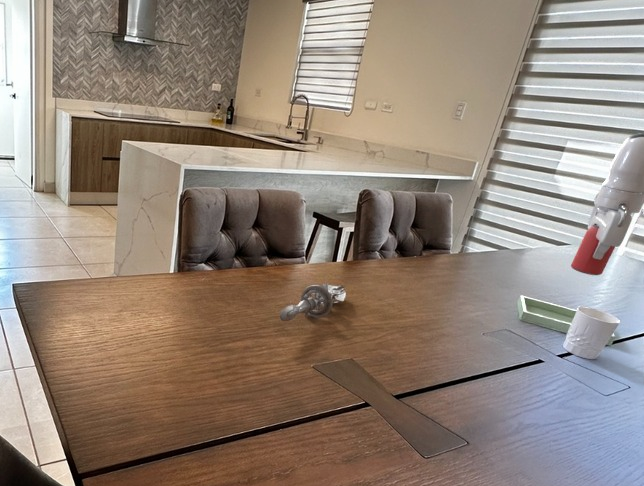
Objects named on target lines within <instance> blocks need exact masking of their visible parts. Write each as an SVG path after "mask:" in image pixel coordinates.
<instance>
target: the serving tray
mask: <svg viewBox="0 0 644 486" xmlns="http://www.w3.org/2000/svg"><path fill="white" fill-rule="evenodd" d="M516 305H517V311H518V319H519V321H522V322H524V323H529V324H531V325H535V326H539V327H543V328H545V329H550V330H553V331H557V332H560V333H564V334H567V333H568V330H569V327H570V325H571V323H572V320H573V318H574V315H575V313H576V311H577V309H573V308H569V307H566V306H562V305H559V304H556V303H551V302H547V301H544V300H541V299H540V300H539V299H536V298H532V297H528V296H524V295H521V294H520V295H519V298H518V300H517V302H516ZM615 339H616V335H615V334H614V333H613V334H612V336H611V338H610V339H609V340H608V342H607V344H606V345H605V346H608V347H611V346H612V344H613V343H614V342H615Z"/></svg>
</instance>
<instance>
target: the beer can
mask: <svg viewBox="0 0 644 486" xmlns="http://www.w3.org/2000/svg"><path fill="white" fill-rule="evenodd" d="M598 229H599V226H596V224H593V225H592V226H591V227H590V228H589V229H588V228H587V230H586V231H585V234H584V236H583V238H582V241H581V242H580V245H579V247H578V249H577V251H576V253H575V256H574V258H573V260H572V262H571V264H570V267H571V268H572V269H573V270H574V271H576V272H578V273H582V274H585V275H589V276H600V275H602V274H603V272H604V271H605V268H606V267H607V264H608V263H609V260H610V258H611V256H612V254H613V252H614V250H615V248H616V247H614V246H610V248H609V249H608V250H607V251H606V253H605V254H604V256H603V258H602V259H600V260H599V259H595V258H593V256H592V255H593V253H594V250H596V248H597V246H598V243H599V240H598V239H597V238H596V234H597V232H598Z"/></svg>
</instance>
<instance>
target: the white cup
mask: <svg viewBox="0 0 644 486" xmlns="http://www.w3.org/2000/svg"><path fill="white" fill-rule="evenodd" d="M576 310H577V311H576V313H575V315H574V318H573V320H572V323H571V325H570V327H569V330H568V333H566V337H565V340H564V342H563V344H562V347H563V349H564V350H566V351H567V352H569V353H570V354H572V355H574V356H577V357H580V358H583V359H586V360H587V359H588V360H596V359H598V357H599V356H600V354H601V352H602V350H603V349H605V347H606V346H607V345H606V344H607V342H608V340H609V339H610V338H611V336H612V334H614V333H615V331H616V329H617V328H618V326H619V325H620V323H621V320H620V319H619V318H618V317H616V316H615V315H613V314H611V313H608V312H606V311H603V310H600V309H597V308H593V307H588V306H578V307H577V308H576Z"/></svg>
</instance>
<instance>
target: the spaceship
mask: <svg viewBox="0 0 644 486" xmlns="http://www.w3.org/2000/svg"><path fill="white" fill-rule="evenodd" d="M345 289H346V286H345V285H344V284H341V285H338V286H337V285H329V283H328V282H325V283H322V284H321V285H319V284H312V285H308V286H307V287H306V288H305V289H304V290H303V291H302V293H301V295H300V302H299V303H297V305H295V304H290V305H288V306H286V307H284V308H283V309H282V310H281V311H280V314H279V318H280V320H281V321H282V322H289V321H291V320H293V319H295V318H296V317H297V316H298V314H304V316H305V317H309V316H310V317H311V318H316V319H322V318H324V317H327V316H328V315H329V314H330V313H331V311H332V308H333V304H335V303H339V302H344V301H345V299H346V296H347V295H346V294H347V292H346V290H345ZM313 295H314V296H313ZM333 300H336V301H333ZM319 308H321V309H319ZM315 309H316V310H315Z"/></svg>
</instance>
